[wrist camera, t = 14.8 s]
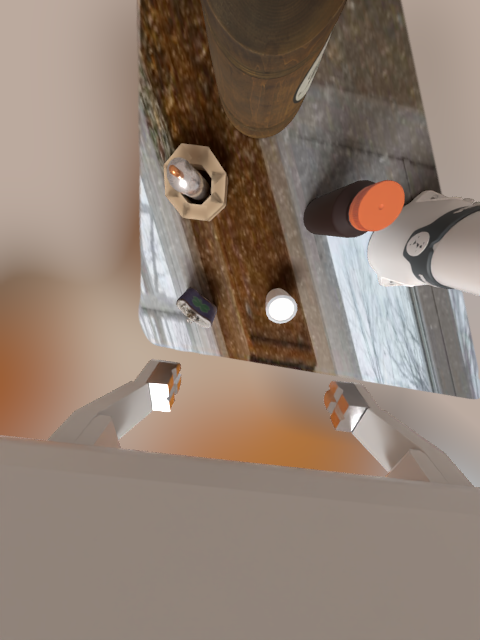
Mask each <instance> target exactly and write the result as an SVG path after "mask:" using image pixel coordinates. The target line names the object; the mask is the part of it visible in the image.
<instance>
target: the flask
mask: <svg viewBox="0 0 480 640" xmlns="http://www.w3.org/2000/svg"><path fill="white" fill-rule="evenodd" d="M176 305H177V307H178V308H179V309H180V310H181V311H182V312H183V313H184V314H185V315H186V316H187V317H188V318H189V320H190V321H193V322H195V323H197V324H198V325H200V326H202V327H204V328H210V327H211V326H212V322H213V320H214V317H215V315H216V312H217V307H216V306H215V305H214V304H212V303H211V302H210V301H209V300H208V299H207V298H205V297H203V296H202V295H201V294H199V292H198V291H197V290H196V289H195V288H189V289H187V290H186V292H185V293H184V294H183V295H182V296H181V297H180V298H179V299H178V300H177V303H176ZM189 320H188V319H187V321H188V322H190V321H189ZM191 323H192V322H191Z"/></svg>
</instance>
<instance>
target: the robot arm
mask: <svg viewBox="0 0 480 640" xmlns="http://www.w3.org/2000/svg"><path fill="white" fill-rule="evenodd" d="M473 201H474V200H473V199H469V198H466V199H463V200H462V197H451V198H448V197H446V196H444V195H441V194H439V193H437V192H434V191H432V190H429V191H423V192H422V193H420V194H419V195H418V196H417V197H416V198H414V199H413V200H412V201H411V202H410V203H409V204H407V205H406V206H404V207H403V208H402V211H401V213H400V215H399V216H398V217H397V219H395V220H394V222H393V223H392V224H390V225H389V226H388V227H386V228H385V229H382V230H379V231H374V233H373V235H372V237H371V239H370V241H369V245H368V251H367V256H368V262H369V264H370V266H371V268H372V269H373V270H374V271H375V272H376V274H377V277H378V282H379V284H380V285H381V286H385V287H387V286H402V285H406V286H409V287H413V286H414V285H427V284H429V285H431V286H435V287H441V288H445V289H457V290H461V291H464V292H467V293H471V294H474V295H477V296H480V202H475V203H474V204H472V203H473ZM390 281H391V282H390ZM180 370H181V364H180V363H177V362H170V361H162V360H154V359H151V360H150V361H149V362H148V363H147V365H146V366H145V367H144V369H143V370H142V371H141V373H140V374H139V375H138V377H137V378H136V379H135V381H134V382H133V381H130V382H129V383H127V384H125V385H123V386H121V387H119V388H117V389H115V390H113V391H112V392H110V393H108V394H106V395H104V396H102V397H100V398H98V399H96V400H95V401H93V402H91V403H89V404H87V405H85V406H83V407H81V408H79V409H78V410H76V411H74V412H73V413H72V415H70V417H69V418H68V419H67V420H66V421H65V422H64V423H63V424H62V425H61V426H60V427H59V428H58V429H57V430H56V431H55V432H54V433H53V434H52V436H51V437H50V438H49V439H48V440H38V439H28V438H20V437H10V436H1V435H0V640H480V487H474V486H473V485H472V484H471V482H469V480H468V479H467V478H466V477H465V476H464V474H463V473H462V472H461V471H460V470H459V469H458V468H457V466H456V465H455V464H454V463H453V462H452V461H451V459H450V458H449V457H448V456H447V455H446V454H445V453H444V452H443V451H442V450H440V449H439V448H437V447H436V446H435V445H433V444H432V443H430V442H429V441H427V440H426V439H425V438H423V437H422V436H420V435H419V434H418V433H416V432H415V431H413V430H412V429H410V428H409V427H408V426H406V425H405V424H403V423H402V422H401V421H399V420H398V419H396V418H395V417H394V416H392V415H391V414H389V413H388V412H387V411H385V410H381V408H380V407H379V406H378V404H377V403H376V402H375V400H374V399H373V398H372V396H371V395H370V393H369V392H368V391H367V389H366V388H365V387H364V385H362V384H361V383H352V382H351V383H350V382H341V381H331V382H330V384H329V387H330V389H329V390H328V391H326V393H325V395H324V404H325V407H326V410H327V411H328V412H329V413H331V416H330V419H331V421H332V424H333V426H334V428H335V430H338V431H346V432H352V434H353V435H354V436H355V437H356V438H357V439H358V440H359V441H360V442H361V444H363V446H364V447H365V448H366V449H367V450H368V451H369V452H370V453H371V454H372V455H373V456H374V457H375V459H377V461H378V462H379V463H380V464H381V465H382V466H383V467H384V468H385V469H386V470H387V471H388V472H389V473H388V474H387V475H386V476H385V477H379V476H370V475H360V474H351V473H341V472H333V471H323V470H314V469H305V468H296V467H286V466H277V465H267V464H258V463H249V462H240V461H230V460H221V459H212V458H203V457H194V456H184V455H176V454H166V453H157V452H148V451H139V450H130V449H121V447H120V444H119V441H118V440H119V439H120V438H122V437H123V436H124V435H125V434H126V433H127V432H129V431H130V430H131V429H132V428H133V427H134V426H136V425H137V424H138V423H139V422H140V421H141V420H142V419H144V418H145V417H146V416H147V415H149V414H150V413H151V412H152V410H157V411H170V410H171V407H172V405H173V403H174V401H175V396H174V395H176V394H177V393H178V391H179V389H180V385H181V374H180V373H179V372H180Z"/></svg>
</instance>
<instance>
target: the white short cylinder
mask: <svg viewBox="0 0 480 640" xmlns="http://www.w3.org/2000/svg"><path fill="white" fill-rule="evenodd" d="M296 312H297V304H296V302H295V300H294V299H293V298H292V297H291V296H290V295H289V294H288V293H287V292H286V291H285V290H283V289H280V288H276V289H273V290H271V291H270V292H269V293H268V294H267V297H266V314H267V316H268V318H269V319H270V320H271V321H273V322H275V323H286V322H288V321H290V320H291V319H292V318H293V317H294V316H295V314H296Z"/></svg>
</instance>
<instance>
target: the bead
mask: <svg viewBox="0 0 480 640" xmlns="http://www.w3.org/2000/svg"><path fill="white" fill-rule="evenodd" d="M177 157H180V158H184V159H185V160H187V161H188V162H189V163H190V164H191V165H192V166H193V167H194V168H195V169H196V170H203V171H207V173H208V174H209V176H210V177H211V178H212V181H211V196H210V197H209V198H208V199H207V200H206V201H205V202H204V203H203V204H202V205H198V204H192V202H191V201H190V200H189V198H188V197H187V196H186V195H185V194H183V193H181V192H178V191H176V190H175V189H174V188H173V187H172V186H171V185H170V183H169V181H168V179H167V166H168V164H169V162H170V161H171V160H172V159H174V158H177ZM164 178H165V196H166V197H167V198H168V199H169V201H170V202H171V203H172V204H173V206H174V207H175V208H176V209H177V211H178V212H179V213H180V214H181V216H182V217H183V218H190V219H197V220H205V221H211V220H212V219H213V218H214V217H215V216H216V215H217V214H218V213H219V212H220V211H221V210H222V209H223V208H224V207H225V206H226V203H227V188H228V177H227V174H226V173H225V171H224V170H223V168H222V167H221V165H220V164H219V162H218V161H217V159H216V157H215V156H214V154H213V153H212V151H211V150H210V148H209V147H205V146H198V145H191V144H183V143H181V144H180V146H179V147H178V148H177V149H176V151H175V152H174V153H173V154H172V155H171V157H170V158H169V159H168V160H167V162H166V163H165V164H164Z"/></svg>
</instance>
